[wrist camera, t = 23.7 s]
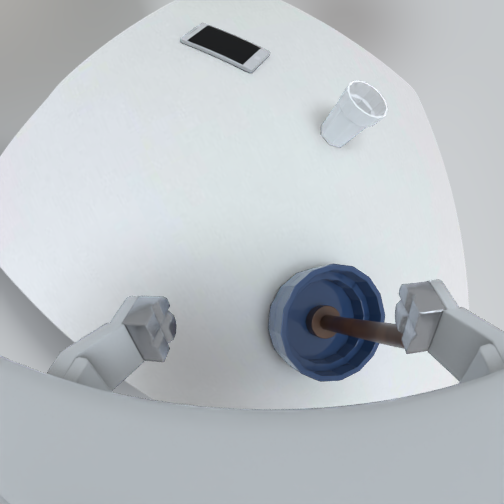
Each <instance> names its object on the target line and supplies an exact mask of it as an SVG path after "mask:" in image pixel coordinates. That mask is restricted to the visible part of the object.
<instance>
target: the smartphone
mask: <svg viewBox="0 0 504 504" xmlns="http://www.w3.org/2000/svg"><path fill="white" fill-rule="evenodd" d="M180 42H182V43H184V44H187V45H189V46H192V47H194V48H197V49H199V50H201V51H204V52H206V53H209V54H211V55H213V56H215V57H218V58H220V59H222V60H224V61H226V62H228V63H231V64H233V65H235V66H237V67H239V68H241V69H243V70H245V71H247V72H249V73H252V72H253V71H254V70H255V69H256V68H257V67H258V66H259V65H260V64H261V63H262V62H263V61H264V60H265V59H266V58H267V57H268V56H269V55H270V51H268V50H266V49H264V48H262V47H260V46H258V45H256V44H253V43H251V42H249V41H247V40H245V39H243V38H240V37H238V36H236V35H233V34H231V33H229V32H226V31H224V30H221V29H219V28H216V27H214V26H211V25H208V24H206V23H201V24H199V25H198V26H196V27H195V28H194V29H192V30H191V31H189V32H188V33H187V34H185V35H184V36H183V37H181V38H180Z"/></svg>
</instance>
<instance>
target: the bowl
mask: <svg viewBox="0 0 504 504" xmlns="http://www.w3.org/2000/svg"><path fill="white" fill-rule="evenodd" d="M318 305H326V306H332V307H334V308H335V309H337V311H338V312H339V314H340V316H341V317H346V318H353V319H360V320H367V321H375V322H383V323H384V320H385V313H384V308H383V303H382V299H381V295H380V293H379V291H378V290H377V288H376V286H375V285H374V283H373V282H372V280H371V279H370V278H369V277H368V276H367V275H365V274H364V273H362V272H361V271H359V270H358V269H356V268H355V267H353V266H346V265H339V264H329V265H324V266H319V267H314V268H311V269H308V270H305V271H302V272H299V273H296V274H295V275H294V276H293V277H291V278H290V279H289V280H288V281H287V282H286V283H284V284H283V285H282V286H281V287H280V289H279V291H278V293H277V295H276V297H275V299H274V300H273V302H272V304H271V307H270V316H269V325H268V329H269V333H270V336H271V340H272V343H273V346H274V349H275V350H276V351H277V352H278V354H279V355H280V356H281V357H282V358H283V359H284V361H285V362H286V363H287V364H289V365H290V366H291V367H293V368H294V369H296V370H297V371H298V372H300V373H301V374H303V375H306V376H308V377H310V378H313V379H315V380H318V381H339V380H342V379H344V378H346V377H348V376H350V375H352V374H354V373H356V372H358V371H360V370H361V369H362V368H363V367H364V365H365V364H366V363H367V362H368V361H369V360H370V359H371V358H372V357H373V355H374V354H375V352H376V349H377V347H378V345H379V343H376V342H372V341H368V340H364V339H360V338H356V337H352V336H348V335H344V334H340V333H336V334H335V335H334V336H332V337H331V338H327V339H323V338H319V337H316V336H314V335H312V334H311V333H310V332H309V331H308V329H307V326H306V318H307V315H308V313H309V312H310V310H311V309H312V308H314V307H316V306H318Z"/></svg>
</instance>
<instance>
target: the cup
mask: <svg viewBox="0 0 504 504" xmlns="http://www.w3.org/2000/svg"><path fill="white" fill-rule="evenodd" d="M387 108H388V106H387V104H386V101H385V99H384V98H383V96H382V95H381V93H380V92H379V91H378V90H376V89H375V88H374V87H373V86H371V85H370V84H368V83H366V82H363V81H352V82H351V83H350V84H349V85H348V86H347V88H346V89H345V91H344V92H343V93H342V95H341V96H340V99H339V101H338V102H337V104H336V105H335V107H334V108H333V110H332V111H331V112H330V114H329V115H328V117H327V118H326V120H325V121H324V123H323V124H322V125H321V135H322V136H323V138H324V139H325V140H326V141H327V142H328V143H329V145H333V146H336V147H340V148H341V147H342V146H344V145H345V144H346V143H348V142H349V141H350V140H351V139H352V138H354V137H355V136H356V135H357V134H359V133H360V132H361V131H363V130H364V129H365V128H366V127H371V126H373V125H375V124H376V123H377V122H379V121H380V120H381V119H382V118H384V117H385V115H386V114H387Z"/></svg>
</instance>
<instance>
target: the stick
mask: <svg viewBox="0 0 504 504" xmlns="http://www.w3.org/2000/svg"><path fill="white" fill-rule="evenodd" d="M306 326H307V329H308V331H309V332H310V333H311V334H312V335H314V336H316V337H319V338H323V339H327V338H331V337H332V336H334V335H335V334H336V333H340V334H344V335H348V336H352V337H356V338H360V339H364V340H368V341H372V342H376V343H381V344H385V345H390V346H394V347H399V348H403V349H405V348H404V345H403V343H402V336H403V334H402V333H401V332H399V331H398V329H397V326H396V324H391V323H383V322H375V321H367V320H360V319H353V318H346V317H341V316H340V314H339V312H338V311H337V309H335V308H334V307H332V306H326V305H318V306H316V307H314V308H312V309H311V310H310V312H309V313H308V315H307V318H306Z"/></svg>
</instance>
